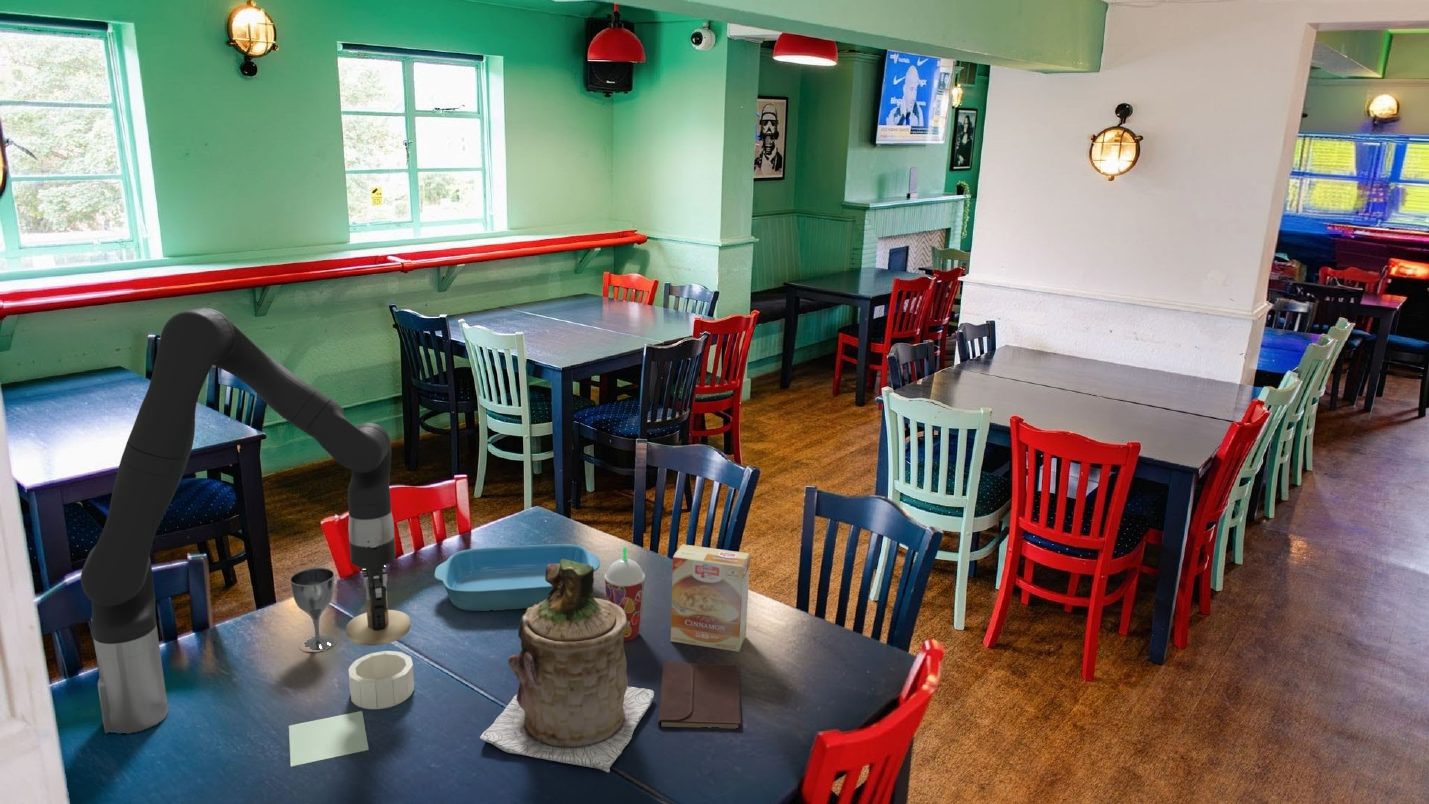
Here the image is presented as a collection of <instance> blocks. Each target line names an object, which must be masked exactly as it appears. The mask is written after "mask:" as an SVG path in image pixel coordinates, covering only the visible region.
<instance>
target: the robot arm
mask: <svg viewBox="0 0 1429 804" xmlns="http://www.w3.org/2000/svg"><path fill="white" fill-rule="evenodd" d="M213 366H215V367H216V368H219V369H221V370H223V371H225V372H227V373H229V374H231V375H233V376H234V377H236V378H237V379H239V380H240V381H242V382H243V383H244V384H245V385H247V386H248V387H249V388H250V389H252V390H253V391H254V392H255V393H256V394H257V395H258V396H259V397H260V398H261V399H262V401H263V402H265V404H266V405H268V406H269V407H270V408H271V409H272V410H273V411H274V412H275V413H276V414H278V415H279V416H280V417H282V418H283V419H284V420H286V421H287V422H288V423H290V424H292V425H293V426H294V427H296V428H297V429H299V430H300V431H301V432H303V433H305V434H307V435H308V436H310V437H312V438H313V439H315V441H316V442H317V443H318V444H319V445H320V446H321V448H322V449H324V450H325V451H326V452H327V453H328V454H329V455H330V456H331V457H332V458H333V459H334V460H335V461H336V462H337V463H339V465H341V466H342V467H344V468H345V469H348V470H349V471H351V479H350V482H349V484H348V487H347V504H348V507H347V508H348V528H347V529H348V541H349V543H348V544H349V553H350V555H349V557H350V563H351V564H352V565H353V566H354V567H356V568H359V569H361V575H362V579H363V587H364V591H365V594H366V595H365V596H366V599H368V600H369V601H370V611H371V615H372V628H373V630H374V631H377V630H383V629H385V627H386V624H385V612H386V610H387V607H386V597H387V598H388V588H387V582H388V573H387V571H386V566H388V565H390V564H391V563H392V562H394V561H395V559H396V543H395V542H396V539H395V524H394V517H393V513H392V502H391V501H392V500H391V489H390V479H391V478H390V477H391V465H392V443H391V438H390V435H389V433H388V431H386V429H385V428H384V427H382V425H380V424H378V423H374V422H365V423H362V424H360V425H359V424H358V426H356V425H355V424H353V422H351V421H350V420H349V419H348V418H346V416H345V410H344V408H343V407H342V406H341V405H340V404H339V403H337V402H336V401H334V399H332V398H330V397H329V396H328V395H326V394H324V393H323V392H321V391H320V390H319V389H317V388H316V387H314V386H313V385H311V384H309V383H308V382H306V381H305V380H304V379H302V378H300V377H299V376H298V375H296V374H295V373H294V372H293V371H291V370H289V369H288V368H287V367H285V366H284V365H282V364H281V363H280V362H278V361H277V360H275V359H274V358H273V357H272V356H271V355H269V354H268V353H267V352H266V351H264V350H263V349H262V348H261V347H260V346H259V345H257V344H256V343H255V342H254V341H253V340H252V339H250V338H249V337H248V336H247V334H245V333H244V332H243V331H242V330H241V329H240V328H239V327H238V326H237V325H236V324H235V323H234V322H232V320H230V319H229V318H228V317H227V316H226V315H225V314H223V313H222V312H220V311H218V310H215V309H213V308H209V307H197V308H192V309H187V310H182V311H180V312H177V313H176V314H174V315H173V316H172V317H170V318H169V319H168V320H167V322H165V324H164V326H163V329H162V331H161V335H160V337H159V343H158V347H157V351H156V358H155V361H154V366H153V371H152V375H151V378H150V383H149V385H148V388H147V391H146V394H145V395H144V398H143V400H142V403H141V405H140V407H139V410H138V413H137V415H136V418H135V420H134V424H133V427H132V429H131V431H130V434H129V435H128V438H127V441H126V444H125V447H124V449H123V453H122V455H121V458H120V461H119V465H118V469H117V472H116V475H115V476H116V477H115V480H114V485H113V489H112V492H111V498H110V503H109V509H108V512H107V517H106V521H105V524H104V527H103V529H102V532H101V533H100V536H99V539H98V541H97V543H96V544H95V546H93V548H92V549H91V550H90V552H89V553H88V556H87V557H86V560H85V563H84V564H83V566H82V570H81V574H80V583H81V588H82V591H83V592H84V594H85V596H86V597H87V598H88V599H89V600H90V601H91V611H92V612H91V631H92V638H93V645H94V649H95V656H96V662H97V663H96V664H97V668H98V675H99V676H98V677H99V678H98V682H97V691H98V696H99V703H100V709H101V716H102V723H103V728H104V733H105V732H108V731H116V732H118V733H117V734H121V733H123V732H124V733H126V734H132V733H131V732H134V733H139V732H142V730H143V731H145V730H144V729H146V730H148V729H151V728H152V726H153V727H155V726H156V725H158V724H159V722H160V723H161V722H163V720H165V718H166V717H167V715H168V713H169V709H168V698H167V693H166V685H165V676H164V671H163V669H164V668H163V664H162V663H163V661H162V656H161V648H160V641H159V633H158V627H157V618H156V596H155V587H154V577H153V569H152V562H151V561H152V560H151V558H150V554H151V550H152V547H153V543H154V540H155V536H156V533H157V531H158V528H159V526H160V525H161V522H162V520H163V518H164V517H165V514H166V512H167V510H168V509H169V507H170V505H171V502H172V500H173V498H174V497H175V493H176V491H177V489H178V487H179V485H180V483H181V479H182V478H183V476H184V472H185V470H186V467H187V464H188V462H189V459H190V455H191V453H192V449H193V445H194V441H195V434H196V433H195V432H196V410H197V404H198V399H199V396H200V393H201V391H202V389H203V386H204V384H205V381H206V379H207V377H208V375H209V373H210V372H211V369H212V367H213ZM154 725H155V726H154ZM150 727H151V728H150ZM147 728H148V729H147ZM138 731H139V732H138Z"/></svg>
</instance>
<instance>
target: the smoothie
mask: <svg viewBox="0 0 1429 804" xmlns="http://www.w3.org/2000/svg"><path fill="white" fill-rule="evenodd" d="M622 548H623V550H622V551H623V554H622V555H623V558H620V559H619V558H618V559H617V560H615V561H613V562H612V563H611V564H610V566H609V567H608V569H607V571H606V572H605V573H604V587H605V590H604V591H605V600H607V601H609V602H611V603H614V604H616V605H618V606H620V607H621V608H622V609H623V610H624V612H625V614H626V619H627V628H626V630H625V631H624V633H623V642H628V641H632V640H634V639H636V638H637V637H638V634H639V633H640V631H641V623H642V612H643V611H642V610H643V600H644V589H645V587H644V586H645V578H646V575H645V573H644V572H643V570H642V567H641V566H640V565H639V564H638V562H636V561H635V560H633V559H631V558H627V552H628V550H627V547H626V546H624V547H622Z"/></svg>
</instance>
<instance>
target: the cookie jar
mask: <svg viewBox="0 0 1429 804" xmlns="http://www.w3.org/2000/svg"><path fill="white" fill-rule="evenodd" d="M594 572H595V571H594V568H593V566H590V565H588V564H582V563H578V562H574V561H570V560H566V559H562V560H561V561H560V564H550V565H548V566H547V568H546V573H545V580H546V582H548V583H550V584H551V585H552V586H553V589H552V590H551V591H550V592H549V594H548V599H545V600H544V601H543V602H540V603H539V604H535V605H534V606H533V607H529V608H526V610H525V613H524V614H523V615H522V616H521V618H520V620H519V622H518V625H519V626H518V633H517V634H518V638H519V639H520V647H521V651H520V652H519V653H518V654H513V655H510V656H509V657H508V661H507V662H508V666H509V668H510V669H511V671H512V672H513V673H514V675H515V677H516V678H517V680H518V681H519V685H518V689H517V693H516V694H515V695H514V696H513V697H512V698H511V701H509V703H508V704H507V706H505V708H504V710H503V711H502V713H500V714H499V715H498V716H497V717H496V719H495V720H494V722H493V723H492V724H491V725H490V726H489V727H488V728H487V729H485V730H484V731H483V732H482V734H481V735H480V736H479V739H480V740H482V741H484V742H486V743H489V744H491V745H493V746H495V747H496V748H498V749H499V750H501V751H503V752H506V753H508V754H515V755H522V756H528V757H532V758H536V759H542V760H546V761H553V762H557V763H558V762H559V763H564V764H570V765H574V766H575V765H576V766H582V767H586V768H587V767H588V768H594V769H598V770H601V771H604V772H606V773H608V774H609V773H610V771H611V769H610V768H611V766H612V765H613V764H614V763H615V761H616V760H617V759H618V757H619V756H620V755H621V754H622V753H623V750H625V747H626V746H627V745H628V744H629V742H630V741H631V740H632V738H633V733H634V732H635V731H634V730H635V729H636V728H637V726H638V724H639V723H640V721H641V719H642V718H643V717H644V716H645V714H646V712H647V710H648V709H649V708H650V706H651V705H652V703H653V701H654V698H655V692H654V690H652V689H648V688H644V687H641V688H639V687H635V686H634V687H633V686H628V683H629V682H628V674H627V657H626V652H625V648H624V641H623V633H624V631H625V630H626V628H627V619H626V614H625V612H624V610H623V609H622V608H621V607H620V606H618V605H616V604H614V603H611V602H609V601H607V600H606V599H604V598H603V599H602V598H596V597H594V596H593V594H594V583H595V582H594V581H595V580H594V579H595V578H594Z"/></svg>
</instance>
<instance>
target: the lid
mask: <svg viewBox="0 0 1429 804" xmlns="http://www.w3.org/2000/svg"><path fill="white" fill-rule="evenodd" d="M365 604H366V606H365V607H366V612H364V613H361V614H359V615H357V616H355V617H354V618H352V619H350V620H349V621H348V623H346V626H345V633H346V634H345V635H346V636H345V637H346V638H347V640H348V641H349V642H350V643H353V644H355V645H359V646H368V647H370V646H372V647H375V646H382V645H387V644H390V643H393V642H396V641H398V640H400V639H402V638H404V637H405V636H406V635H407V634H409V632H410V630H411V619H410V616H409V615H408V614H407V613H405V612H402V611H399V610H394V609H389V607H388V606H389V605H388V596H387V597H386V607H387V610H386V612H385V624H386V627H385V629H383V630H377V631H374V630H373V628H372V615H371V611H370V601H369V600H368V599H367V598H366V599H365Z"/></svg>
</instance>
